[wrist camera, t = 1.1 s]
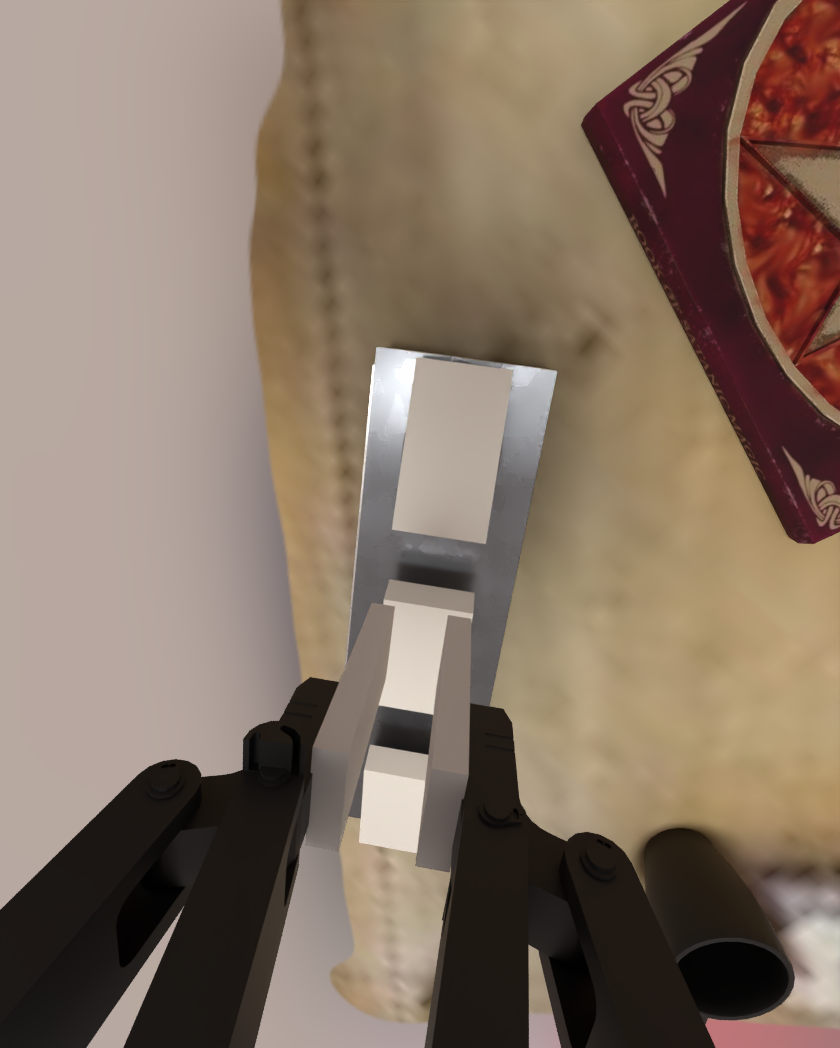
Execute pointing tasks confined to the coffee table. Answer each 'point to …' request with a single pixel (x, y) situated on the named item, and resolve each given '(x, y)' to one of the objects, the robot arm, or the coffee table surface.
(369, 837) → the block
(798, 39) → the book
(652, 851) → the mug
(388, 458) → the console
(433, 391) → the block
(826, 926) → the coffee table surface
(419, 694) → the white rectangular block
